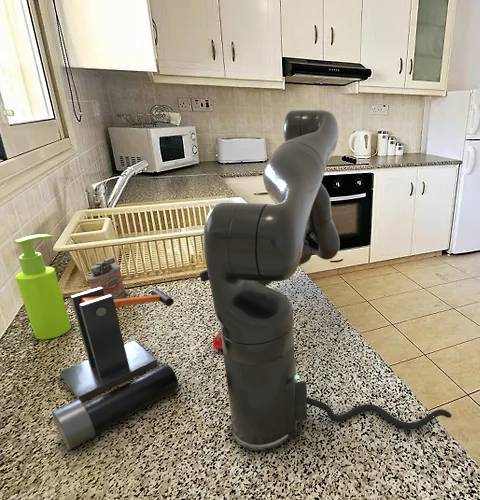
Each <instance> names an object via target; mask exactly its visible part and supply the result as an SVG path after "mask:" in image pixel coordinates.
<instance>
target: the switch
mask: <svg viewBox="0 0 480 500" xmlns="http://www.w3.org/2000/svg"><path fill="white" fill-rule="evenodd" d="M100 297H102V296H95V297H85V298H82V303H85V302H88V301H91V300H94V299H97V298H100ZM157 302H158V303H159V302H160V303H162V304H163V305H164V306H166V307H171V306H172V305H174V302H175V301H174V298H173V297H171V296H169V295H167V293H164V291H161V290H160V289H158V288H154V289H153V290H152V291H151V292H150V295H142V296H133V297H123V298H121V299H114V304H115V308H119V307H120V308H121V307H126V306H135V305H142V304H149V303H157Z"/></svg>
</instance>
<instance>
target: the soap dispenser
mask: <svg viewBox="0 0 480 500" xmlns="http://www.w3.org/2000/svg"><path fill="white" fill-rule="evenodd" d="M52 238H53V235H51V234H48V233H42V234H41V233H40V234H39V233H38V234H32V235H28V236H24V237H20V238H17V239H14V240H13V242H14V244H15V245H17V246H20V248H21V251H22V254H21V255H19V256H18V262H19V265H20V268H21V270H22V271H20V272H18V273H16V275H15V277H14V278H15V281H16V284H17V287H18V290H19V292H20V293H19V294H20V295H21V298H22V302H23V304H24V307H25V311H26V314H27V317H28V320H29V322H30V325H31V329H32V332H33V335H34V338H35V339H37V340H49V339H50V340H51V339H54V338H58V337H60V336H63V335H64V334H66V333H68V332H69V331H70V330H71V328H72V324H71V321H70V318H69V314H68V311H67V307H66V303H65V300H64V297H63V294H62V290H61V286H60V283H59V280H58V276H57V272H56V269H55V268H54V267H53V266H46V263H45V261H44V258H43V254H42V252H38V251H36V250H35V247H34V245H33V242H36V241H41V240H50V239H52Z"/></svg>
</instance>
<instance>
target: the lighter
mask: <svg viewBox="0 0 480 500" xmlns="http://www.w3.org/2000/svg"><path fill="white" fill-rule="evenodd" d="M115 263H116V258H115V257H114V256H110V257H107V258H106V259H104V260H103V261H96V262H95V264H94V265H92V266H91V267H90V272H92V273H91V274H90V275H88V276H87V277H86V279H87V282H89V286H90V287H89V288H90V290H92V289H95V288H98V287H102V288H103V291H104V295H105V296H106V295H109V294H111V295H112V296H113V299H123V298H125V296H127V291H126V290H125V286H124V281H123V277H122V273H121V270H122V267H121V265H120V264H115Z"/></svg>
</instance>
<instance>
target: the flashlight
mask: <svg viewBox="0 0 480 500" xmlns="http://www.w3.org/2000/svg"><path fill="white" fill-rule="evenodd" d="M178 380H179V379H178V377H177V375H176V373H175V371H174V370H173V368H172V367H171V366H170V365H169V364H167V363H166V364H164V365H162V366H160V367H158V368H156V369H153V370H151V371H148V373H145V374H144V375H141V376H139V377H137V378H135V379H134V380H131V381H129V382H127V383H126V384H125V383H124V384H123V385H121V386H119V387H117V388H115V389H113V390H111V391H109V392H107V393H105V394H103V395H101V396H99V397H97V398H95V399H93V400H91V401H89V402H87V403H85V404H84V403H83V402H81V401H80V400H79V399H77V398H76V399H75V400H74V401H71V402H69V403H67V404H65V405H63V406H61V407H59V408H56V409H54V410H53V411H52V412H51V413H52V418H53V421H54V423H55V427H56V429H57V431H58V434H59V435H60V439H61V440H62V442H63V444H64V446H65V447H66V449H67V450H68V451H70V450H73V449H74V448H76V447H77V446H80V445H81V444H83V443H85V442H87V441H88V440H91V439H92V438H93V437H95V436H96V435H97V434H99V433H100V432H103V431H104V430H106V429H108V428H109V427H111V426H113V425H115V424H117V423H118V422H120V421H122V420H123V419H126V418H127V417H129V416H131V415H133V414H135V413H137V412H138V411H140V410H142V409H143V408H145V407H147V406H149V405H150V404H153V403H155V402H156V401H158V400H159V399H162V398H163V397H165V396H168V394H171V393H172V392H174V391H176V390H177V389H178V388H179V381H178Z"/></svg>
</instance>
